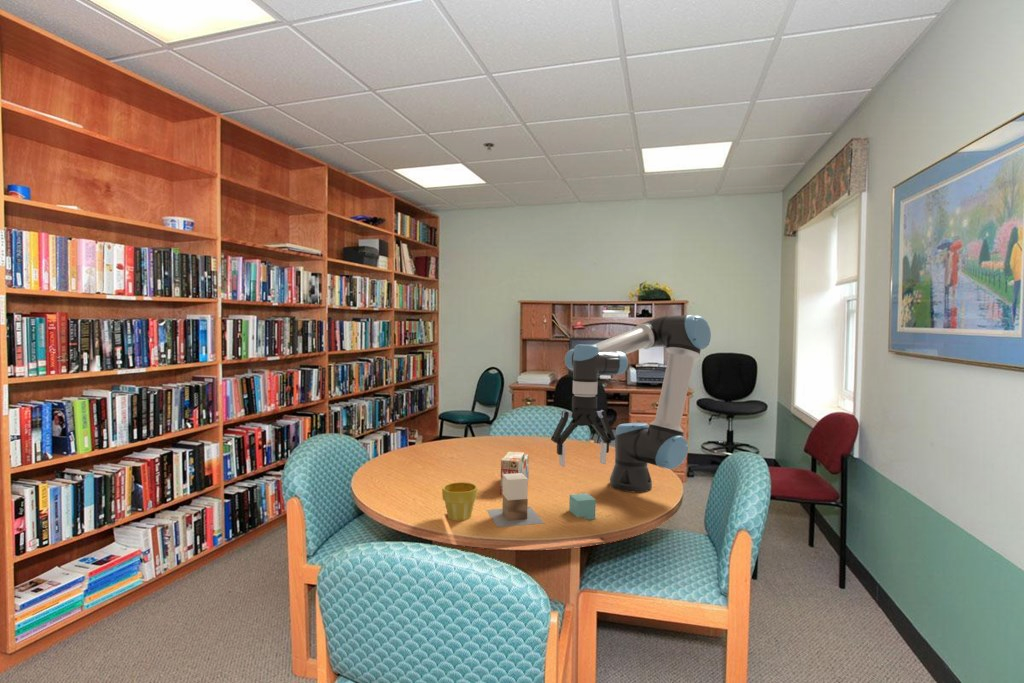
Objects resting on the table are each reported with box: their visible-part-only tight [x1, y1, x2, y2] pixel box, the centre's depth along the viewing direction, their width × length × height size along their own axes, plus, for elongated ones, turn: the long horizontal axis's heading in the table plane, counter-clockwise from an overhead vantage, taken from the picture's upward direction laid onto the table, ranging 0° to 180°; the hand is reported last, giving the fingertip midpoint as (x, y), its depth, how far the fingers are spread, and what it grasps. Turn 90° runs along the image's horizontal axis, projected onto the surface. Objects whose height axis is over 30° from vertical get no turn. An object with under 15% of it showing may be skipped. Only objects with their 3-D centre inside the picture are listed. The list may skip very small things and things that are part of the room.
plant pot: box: [441, 481, 478, 522], centre depth 151 cm, size 10×10×10 cm
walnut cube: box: [501, 495, 529, 521], centre depth 152 cm, size 6×6×6 cm
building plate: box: [486, 506, 545, 528], centre depth 152 cm, size 14×14×1 cm
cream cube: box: [502, 473, 529, 500], centre depth 151 cm, size 6×6×6 cm
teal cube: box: [568, 492, 597, 521], centre depth 155 cm, size 6×6×6 cm
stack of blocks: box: [499, 451, 530, 495], centre depth 184 cm, size 21×6×12 cm, turn 168°
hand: (582, 464), depth 155 cm, fingers open, 13 cm apart
